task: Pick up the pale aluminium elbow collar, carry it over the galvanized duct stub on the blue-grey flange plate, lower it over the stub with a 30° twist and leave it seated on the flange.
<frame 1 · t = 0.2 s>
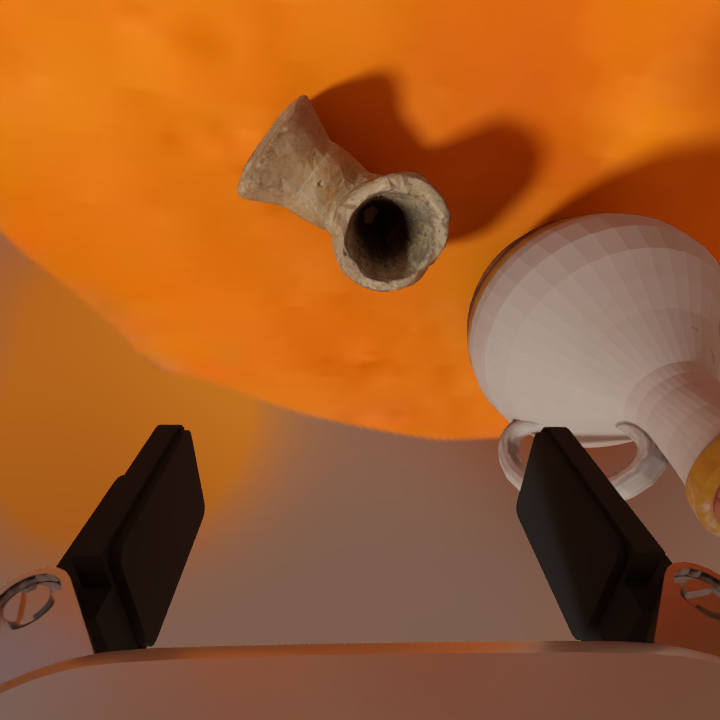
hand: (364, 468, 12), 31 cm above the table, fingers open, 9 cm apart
pipe: (347, 193, 38), on the table
jug: (524, 296, 42), on the table
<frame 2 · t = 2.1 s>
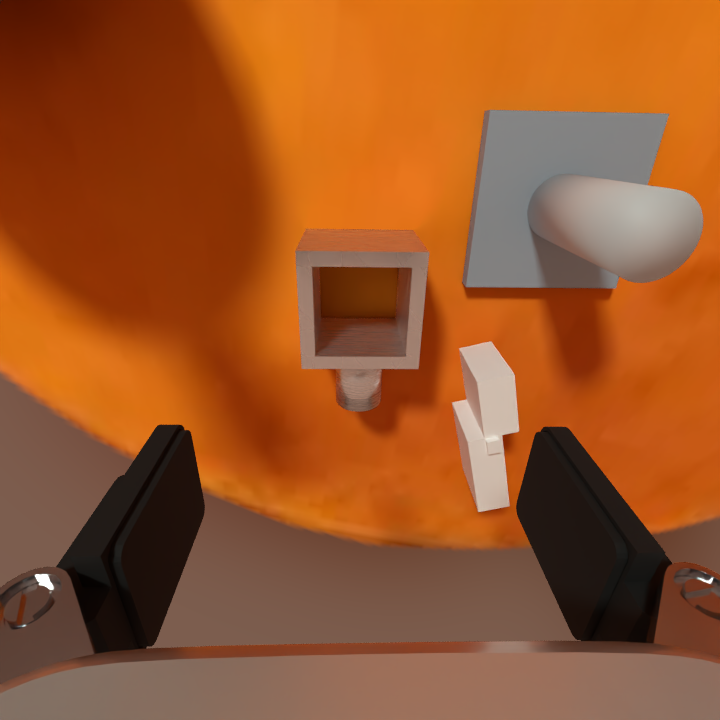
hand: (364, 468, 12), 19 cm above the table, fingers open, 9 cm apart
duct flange: (551, 205, 26), on the table
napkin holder: (479, 399, 34), on the table
elbow collar: (358, 281, 28), on the table
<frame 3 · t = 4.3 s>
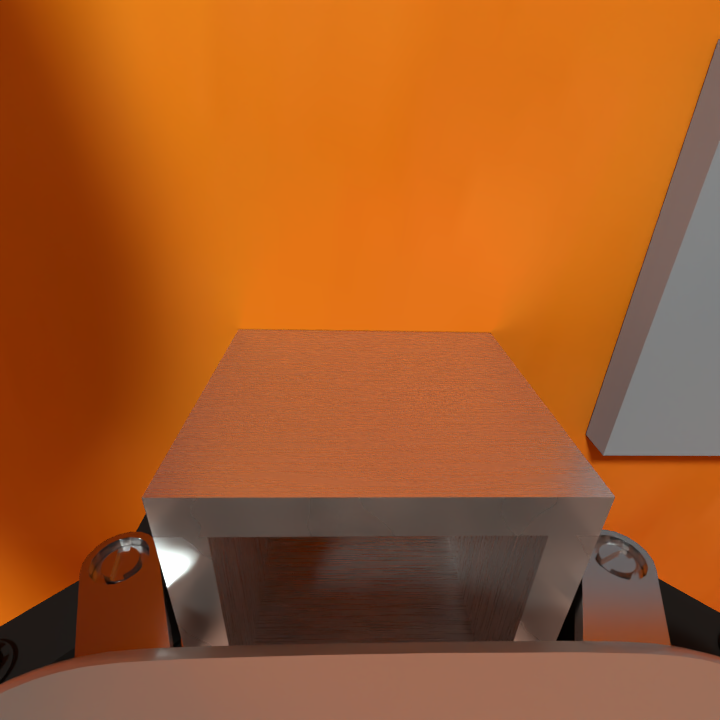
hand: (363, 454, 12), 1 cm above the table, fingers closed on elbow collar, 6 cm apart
elbow collar: (362, 433, 13), on the table, touching gripper
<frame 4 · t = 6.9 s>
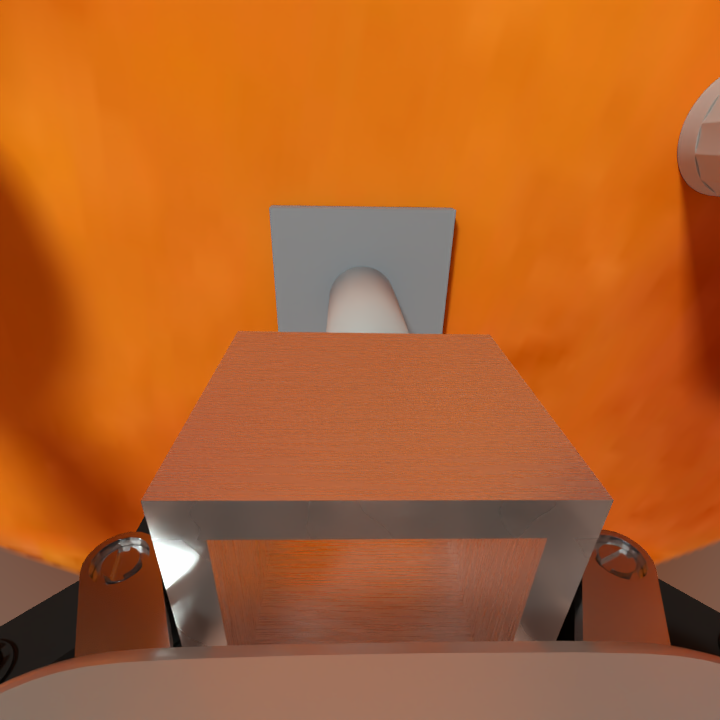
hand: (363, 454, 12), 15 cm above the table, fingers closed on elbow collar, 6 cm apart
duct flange: (361, 293, 26), on the table
elbow collar: (361, 434, 13), point 14 cm above the table, touching gripper
when the fingers open (3 cm above the table, at t = 9.7 s): elbow collar drops 1 cm, resting on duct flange.
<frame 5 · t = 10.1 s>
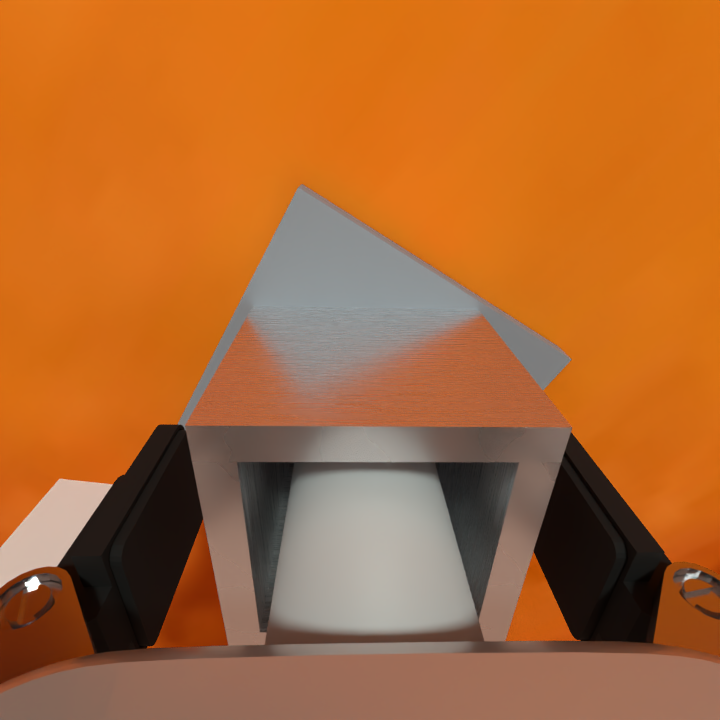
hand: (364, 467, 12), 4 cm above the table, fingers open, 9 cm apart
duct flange: (359, 390, 15), on the table
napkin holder: (110, 556, 20), on the table
elbow collar: (363, 402, 14), point 1 cm above the table, touching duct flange
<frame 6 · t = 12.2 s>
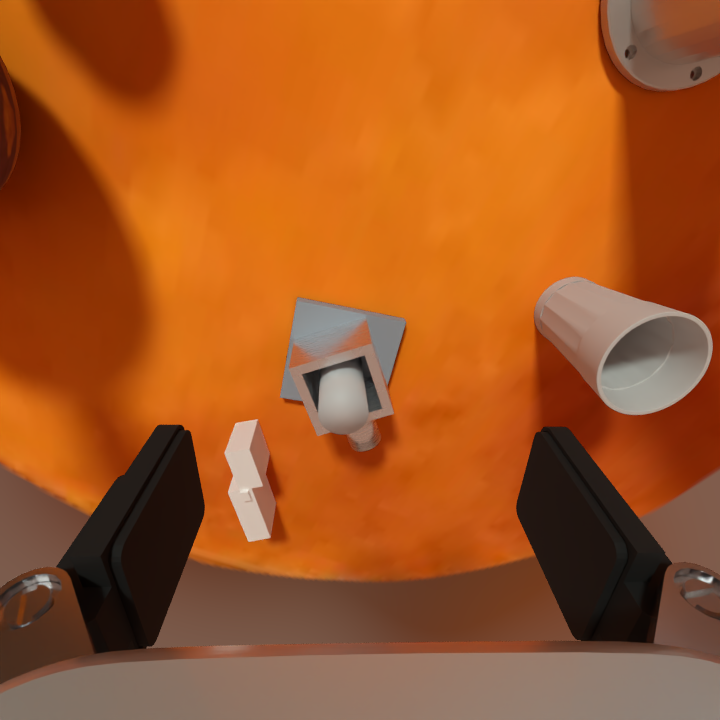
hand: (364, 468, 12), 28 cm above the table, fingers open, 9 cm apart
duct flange: (340, 356, 41), on the table
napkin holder: (261, 457, 46), on the table
cup: (566, 309, 40), on the table
elbow collar: (341, 359, 40), point 1 cm above the table, touching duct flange
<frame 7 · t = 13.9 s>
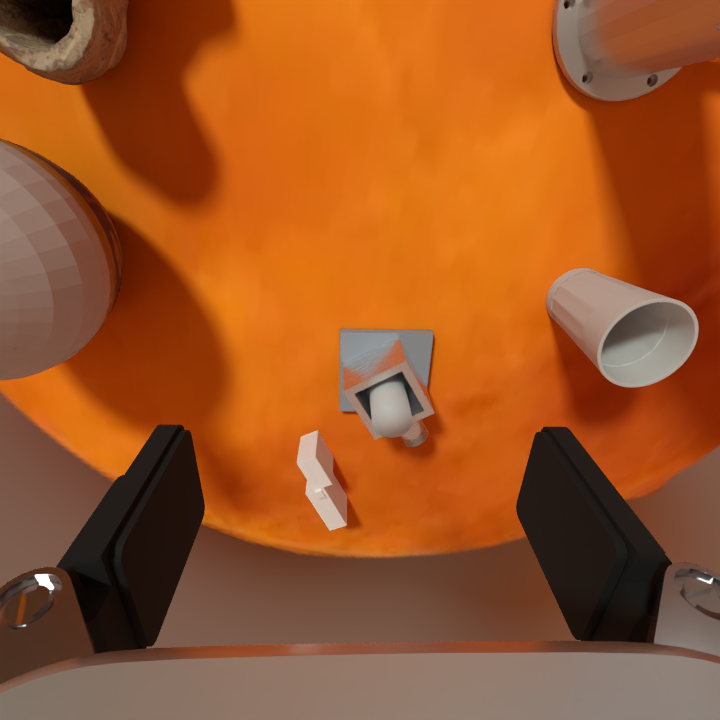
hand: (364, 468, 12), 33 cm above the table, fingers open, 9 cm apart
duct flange: (383, 369, 48), on the table
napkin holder: (327, 460, 55), on the table
jug: (57, 227, 40), on the table
cup: (575, 296, 45), on the table
elbow collar: (384, 373, 47), point 1 cm above the table, touching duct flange
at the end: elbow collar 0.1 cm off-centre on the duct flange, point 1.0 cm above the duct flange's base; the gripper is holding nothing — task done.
